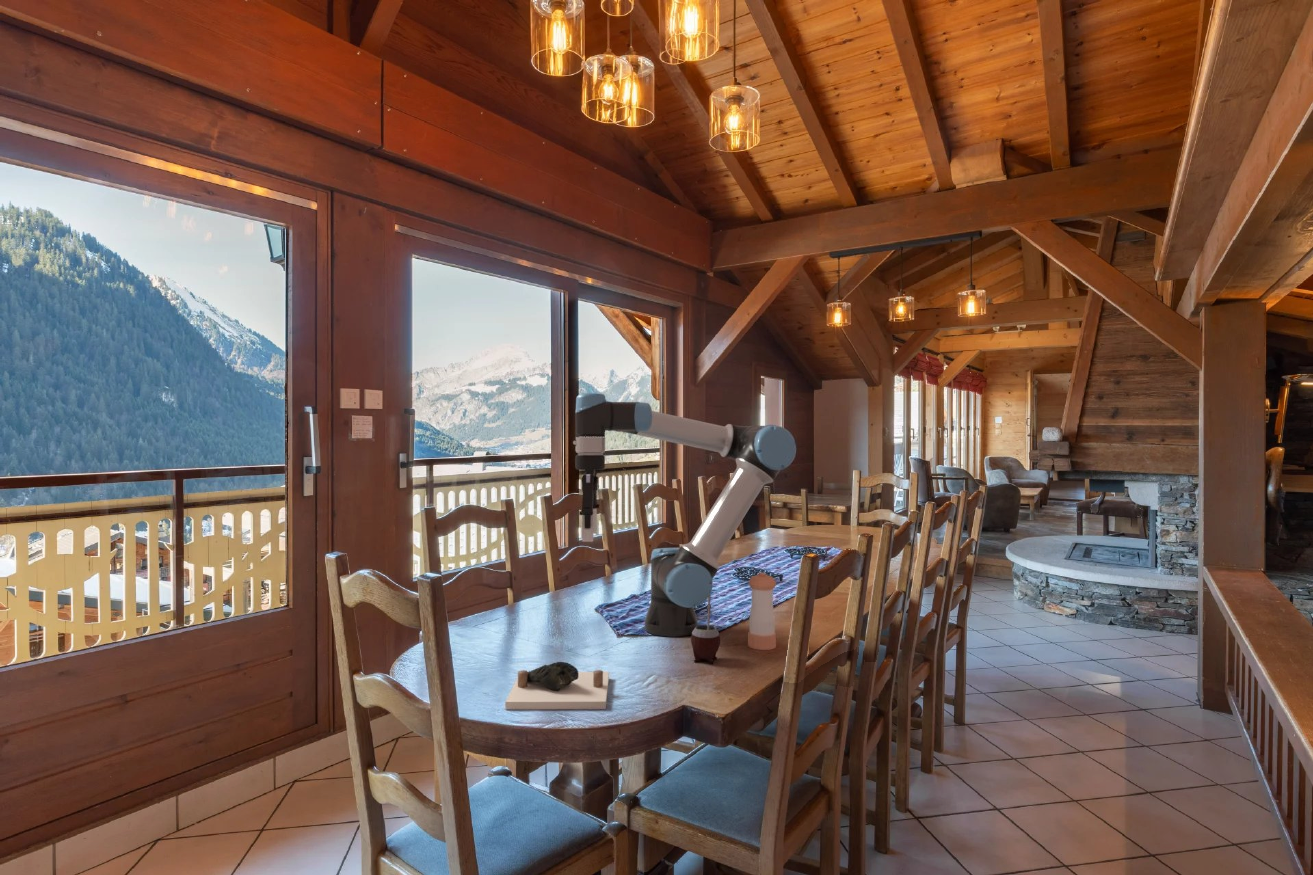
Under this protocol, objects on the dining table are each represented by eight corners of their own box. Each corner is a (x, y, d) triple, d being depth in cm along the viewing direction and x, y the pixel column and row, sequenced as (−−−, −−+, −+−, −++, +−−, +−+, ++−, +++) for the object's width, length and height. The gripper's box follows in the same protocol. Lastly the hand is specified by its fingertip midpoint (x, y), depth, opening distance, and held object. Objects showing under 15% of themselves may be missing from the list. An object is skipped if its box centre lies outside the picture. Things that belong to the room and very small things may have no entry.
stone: (533, 675, 151) (533, 651, 151) (585, 684, 146) (585, 659, 146) (515, 685, 145) (515, 661, 145) (568, 695, 139) (568, 669, 139)
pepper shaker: (779, 643, 180) (779, 571, 180) (771, 651, 173) (772, 576, 173) (752, 640, 183) (753, 568, 183) (744, 647, 176) (744, 573, 176)
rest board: (609, 678, 154) (609, 658, 153) (605, 708, 137) (605, 686, 136) (519, 678, 153) (520, 658, 153) (505, 709, 136) (505, 686, 136)
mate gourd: (700, 667, 161) (701, 603, 161) (683, 657, 168) (684, 596, 168) (726, 662, 165) (727, 600, 165) (709, 653, 172) (710, 593, 172)
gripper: (579, 452, 186) (578, 530, 186) (570, 455, 161) (570, 545, 161) (607, 452, 186) (606, 530, 186) (602, 455, 161) (601, 545, 161)
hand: (589, 537), depth 174 cm, fingers open, 13 cm apart
